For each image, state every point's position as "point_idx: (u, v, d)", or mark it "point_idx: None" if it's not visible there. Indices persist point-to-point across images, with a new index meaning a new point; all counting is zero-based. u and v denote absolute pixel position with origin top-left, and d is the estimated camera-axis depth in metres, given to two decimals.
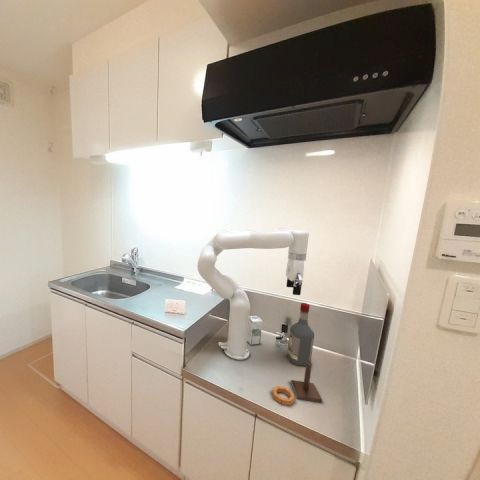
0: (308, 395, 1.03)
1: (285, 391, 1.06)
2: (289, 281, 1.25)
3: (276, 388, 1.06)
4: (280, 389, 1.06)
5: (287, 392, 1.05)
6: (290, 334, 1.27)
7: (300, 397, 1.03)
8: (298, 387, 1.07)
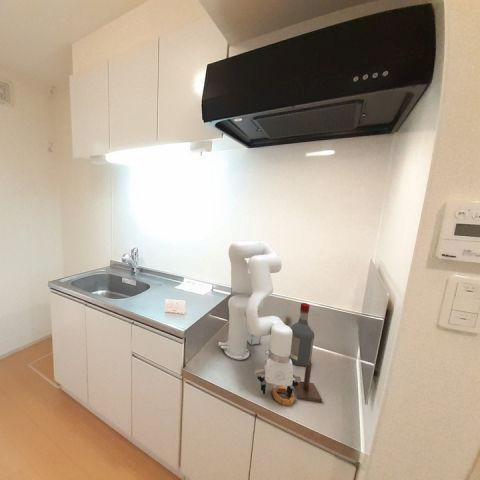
0: (308, 395, 1.03)
1: (285, 391, 1.06)
2: None
3: (276, 388, 1.06)
4: (280, 389, 1.06)
5: None
6: None
7: (300, 397, 1.03)
8: (298, 387, 1.07)
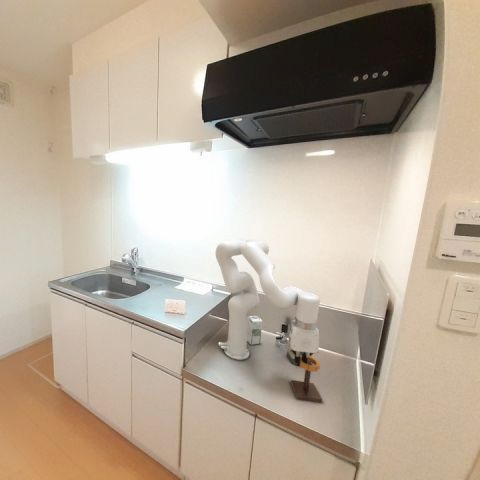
0: (308, 395, 1.03)
1: (310, 359, 1.06)
2: None
3: (301, 356, 1.07)
4: None
5: (312, 360, 1.06)
6: None
7: (300, 397, 1.03)
8: (298, 387, 1.07)
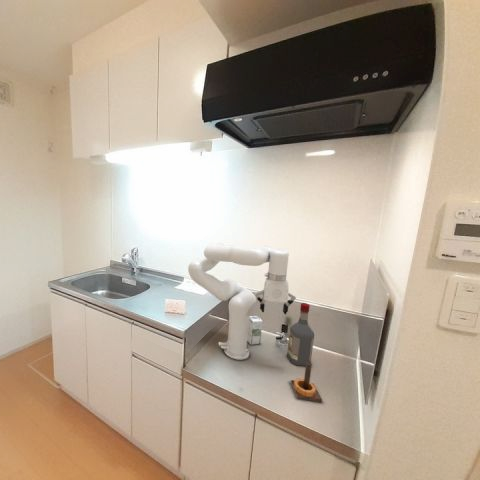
0: None
1: None
2: None
3: (297, 381, 1.08)
4: (300, 381, 1.09)
5: None
6: (290, 334, 1.27)
7: (300, 397, 1.03)
8: None
